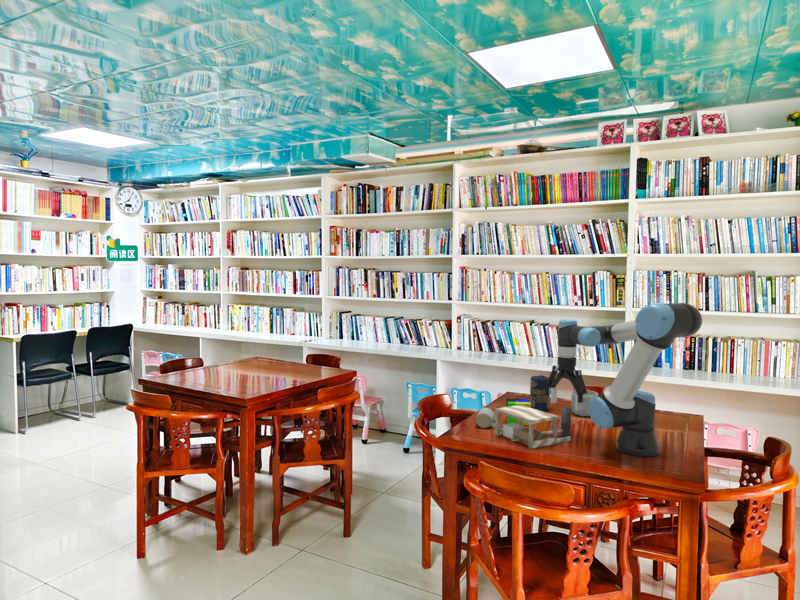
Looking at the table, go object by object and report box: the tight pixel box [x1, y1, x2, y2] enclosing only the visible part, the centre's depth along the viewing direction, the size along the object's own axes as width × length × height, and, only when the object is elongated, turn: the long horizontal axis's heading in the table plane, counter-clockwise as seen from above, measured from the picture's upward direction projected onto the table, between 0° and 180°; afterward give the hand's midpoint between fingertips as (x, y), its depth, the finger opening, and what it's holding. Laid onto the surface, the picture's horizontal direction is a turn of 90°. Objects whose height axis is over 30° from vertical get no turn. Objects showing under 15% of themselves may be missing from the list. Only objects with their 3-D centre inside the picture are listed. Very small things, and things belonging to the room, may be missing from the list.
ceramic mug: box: [475, 407, 501, 429], centre depth 238 cm, size 11×8×8 cm
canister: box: [529, 374, 551, 412], centre depth 268 cm, size 10×10×18 cm
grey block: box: [502, 423, 525, 440], centre depth 223 cm, size 6×6×5 cm
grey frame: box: [518, 406, 572, 447], centre depth 219 cm, size 25×6×12 cm, turn 119°
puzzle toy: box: [505, 397, 531, 425], centre depth 245 cm, size 10×10×10 cm
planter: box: [571, 389, 599, 418], centre depth 259 cm, size 12×12×11 cm
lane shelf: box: [494, 405, 572, 450], centre depth 221 cm, size 22×22×11 cm
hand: (565, 406), depth 224 cm, fingers open, 13 cm apart
